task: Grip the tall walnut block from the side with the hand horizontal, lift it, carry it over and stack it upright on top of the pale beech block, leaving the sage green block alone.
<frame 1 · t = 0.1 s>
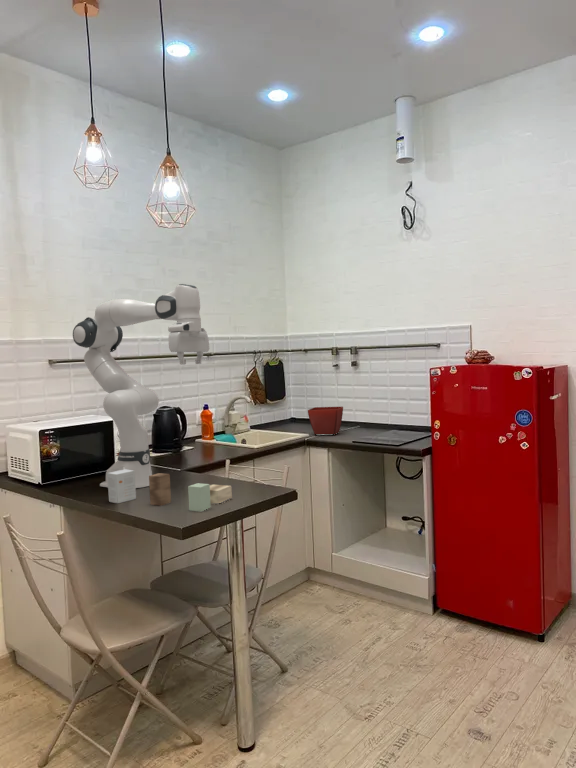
hand: (190, 364, 220), 48 cm above the countertop, tool pointing down, fingers open, 8 cm apart
walnut block: (160, 503, 203), on the countertop
beech block: (216, 501, 203), on the countertop
sage green block: (200, 509, 192), on the countertop
small box: (122, 500, 210), on the countertop
plant pot: (326, 435, 368), on the countertop
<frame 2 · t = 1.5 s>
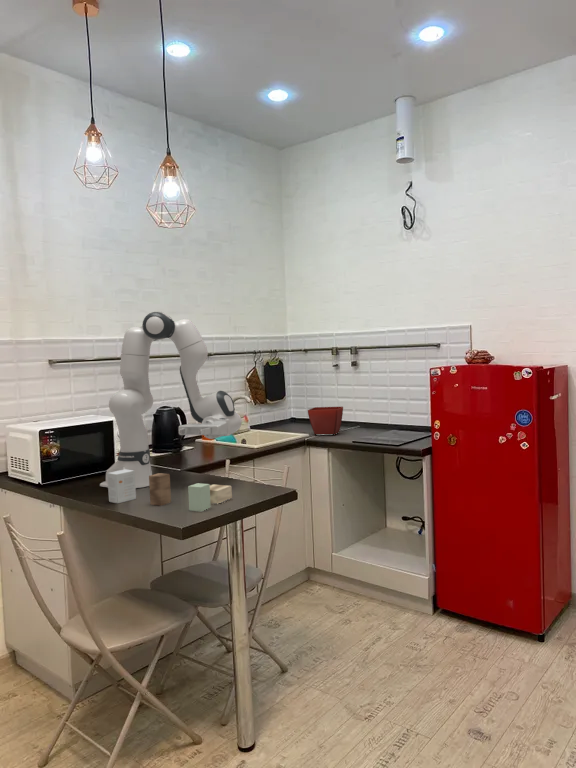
hand: (189, 432, 218), 23 cm above the countertop, tool horizontal, fingers open, 8 cm apart
nothing on the countertop moved.
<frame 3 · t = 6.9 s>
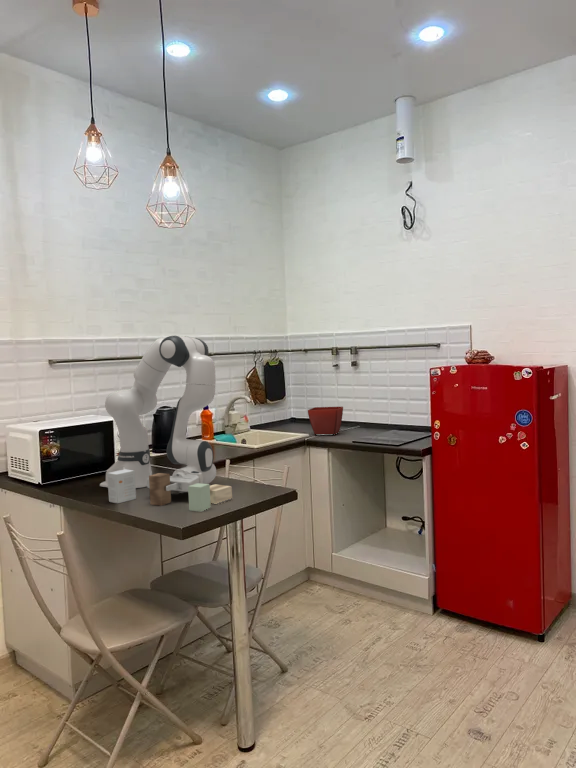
hand: (158, 488, 202), 6 cm above the countertop, tool horizontal, fingers closed on walnut block, 5 cm apart
walnut block: (160, 503, 203), on the countertop, touching gripper
everything else where it was.
when the fingers open (12 cm above the countertop, at t = 11.9 s): walnut block drops 2 cm, resting on beech block.
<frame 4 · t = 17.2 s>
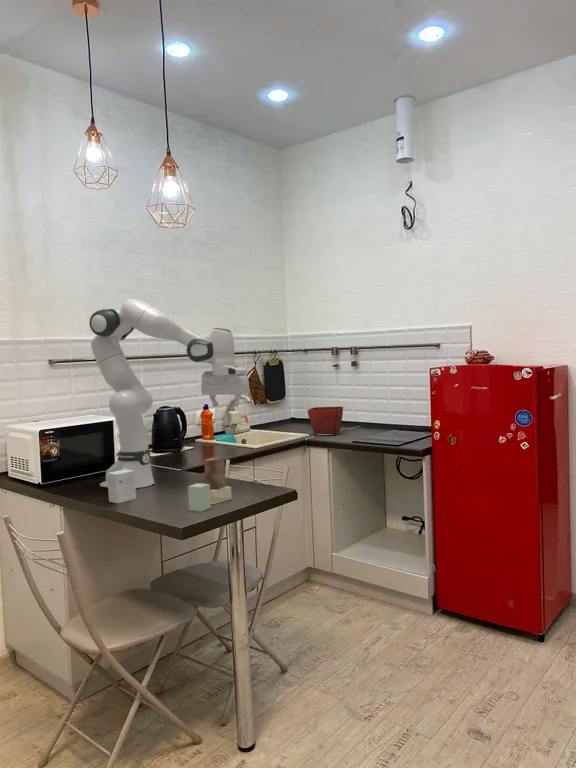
hand: (225, 406, 223), 31 cm above the countertop, tool pointing down, fingers open, 8 cm apart
walnut block: (215, 487, 202), point 5 cm above the countertop, touching beech block
beech block: (215, 501, 203), on the countertop, touching walnut block
everything else where it was.
at the end: walnut block inside the target area on the beech block (0.4 cm from its centre), point 5.0 cm above the beech block's base; walnut block tilted 0°; the gripper is holding nothing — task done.
